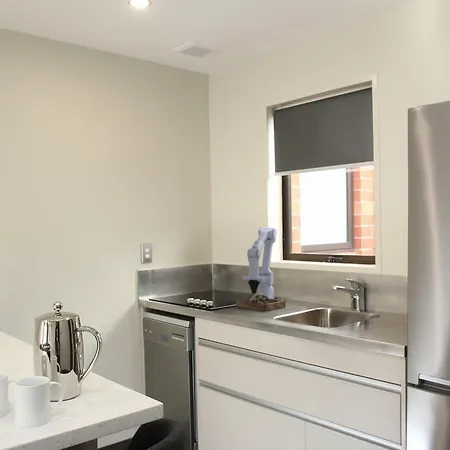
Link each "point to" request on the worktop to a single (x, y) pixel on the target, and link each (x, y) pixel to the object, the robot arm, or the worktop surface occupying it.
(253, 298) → the food container
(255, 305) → the wooden tray
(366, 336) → the worktop surface
